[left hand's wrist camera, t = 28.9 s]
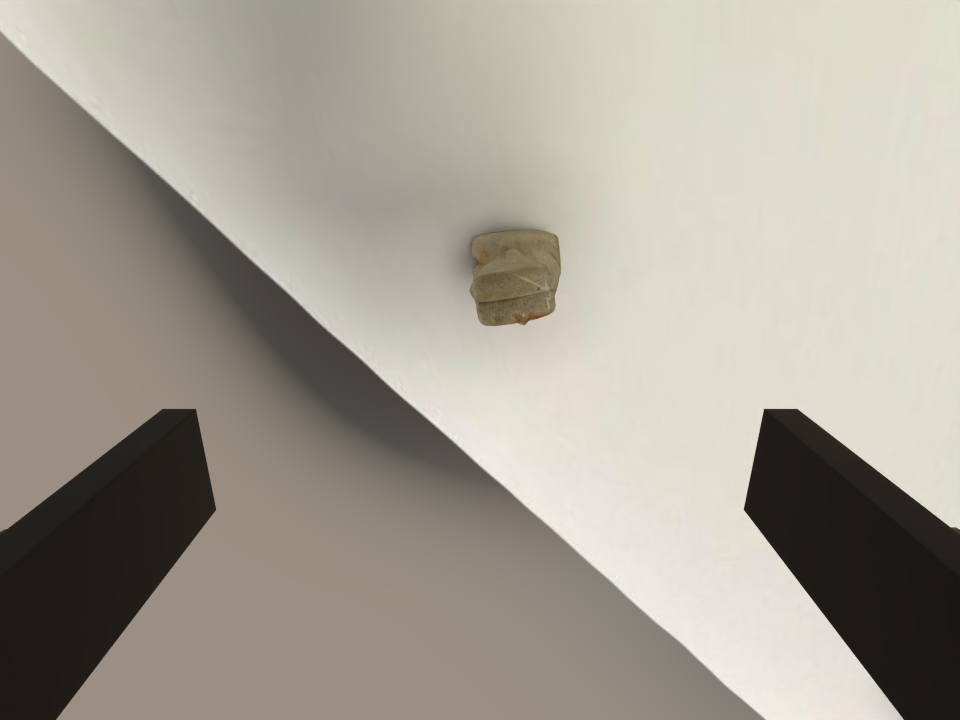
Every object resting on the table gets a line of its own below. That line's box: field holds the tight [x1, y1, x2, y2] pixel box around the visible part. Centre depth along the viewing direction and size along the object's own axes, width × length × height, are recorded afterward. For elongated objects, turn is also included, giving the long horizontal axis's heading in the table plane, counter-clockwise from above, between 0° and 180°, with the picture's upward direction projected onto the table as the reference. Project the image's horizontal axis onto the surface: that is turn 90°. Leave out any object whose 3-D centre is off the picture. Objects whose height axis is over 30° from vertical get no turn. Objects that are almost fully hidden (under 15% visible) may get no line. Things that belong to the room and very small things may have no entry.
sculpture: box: [470, 230, 561, 326], centre depth 39 cm, size 6×7×15 cm
